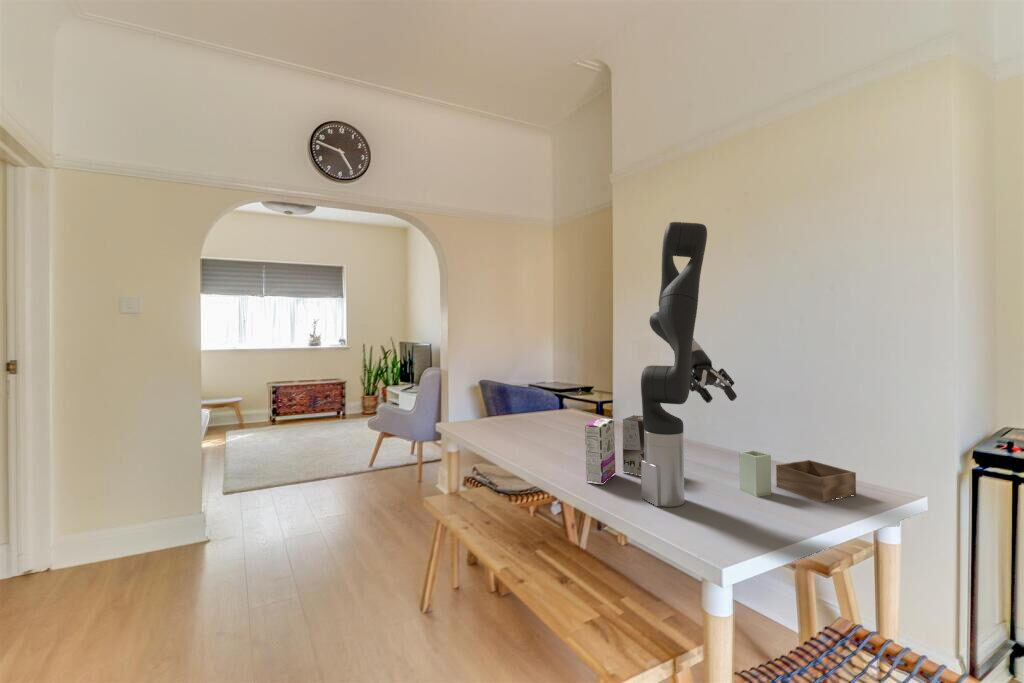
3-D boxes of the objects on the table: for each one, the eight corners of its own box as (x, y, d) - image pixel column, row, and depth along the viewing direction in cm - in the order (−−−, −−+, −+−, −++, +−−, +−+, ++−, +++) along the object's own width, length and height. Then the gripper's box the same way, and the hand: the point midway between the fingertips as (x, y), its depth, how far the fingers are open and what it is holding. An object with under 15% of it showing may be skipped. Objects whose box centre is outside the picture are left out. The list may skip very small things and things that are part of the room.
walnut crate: (821, 502, 105) (821, 478, 105) (776, 486, 116) (776, 464, 116) (855, 495, 109) (855, 472, 109) (809, 481, 120) (808, 459, 120)
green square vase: (756, 496, 109) (755, 457, 109) (739, 490, 114) (739, 452, 114) (771, 494, 111) (770, 454, 111) (754, 487, 116) (754, 450, 116)
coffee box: (643, 477, 126) (642, 421, 126) (622, 473, 130) (621, 419, 130) (654, 469, 133) (653, 416, 133) (634, 465, 137) (633, 414, 137)
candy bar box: (599, 472, 131) (598, 417, 131) (616, 474, 129) (615, 419, 128) (585, 483, 122) (584, 424, 122) (602, 486, 119) (601, 426, 119)
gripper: (679, 349, 128) (709, 393, 117) (717, 348, 133) (749, 390, 122) (667, 366, 133) (695, 410, 123) (704, 364, 138) (734, 406, 127)
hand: (722, 400), depth 122 cm, fingers open, 8 cm apart
